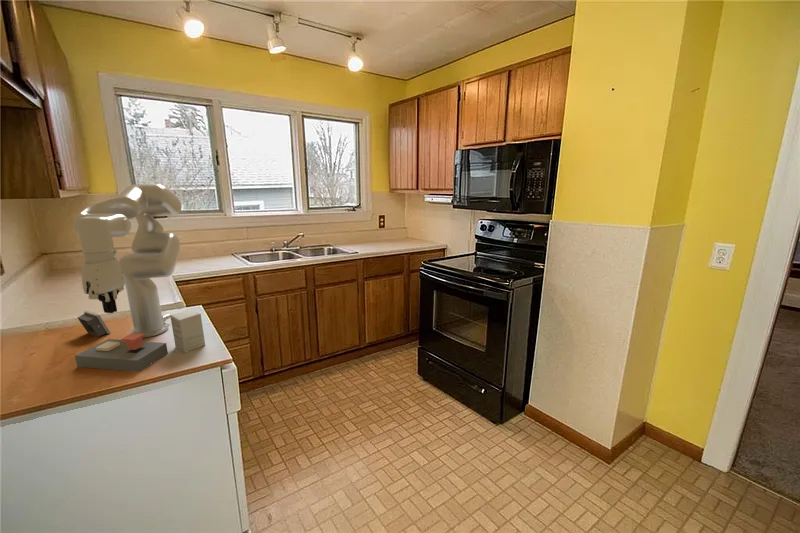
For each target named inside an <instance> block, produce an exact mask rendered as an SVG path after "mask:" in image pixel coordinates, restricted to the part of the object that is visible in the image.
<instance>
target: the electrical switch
mask: <svg viewBox="0 0 800 533" xmlns="http://www.w3.org/2000/svg"><path fill="white" fill-rule="evenodd" d="M77 319H78V321H79V322H80V324H81V325H82V327H83V328H84V329H85V331H86V332H87V334H90V335H92V336H95V337H98V338H100V337H102V336H103V335H105V334H106V335H109V334H111V330H110V329H109V328H108V326H107V324H106V322H105V321H104V320H103V319H102V317H101V315H100V314H99V313H95V312H94V311H93V312H92V311H91V310H90V311H89V310H84V311H83V314H82V315H79V316H78V317H77Z"/></svg>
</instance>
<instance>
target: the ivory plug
mask: <svg viewBox="0 0 800 533" xmlns="http://www.w3.org/2000/svg"><path fill="white" fill-rule="evenodd" d="M119 345H120V342H109V341H108V342H106V343H104V344H102V345H100V346H98V347H96V350H99V351H110V350H112V349H114V348H116V347H117V346H119Z"/></svg>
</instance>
